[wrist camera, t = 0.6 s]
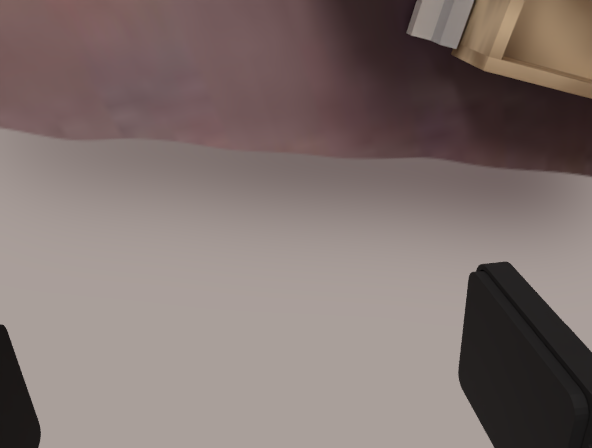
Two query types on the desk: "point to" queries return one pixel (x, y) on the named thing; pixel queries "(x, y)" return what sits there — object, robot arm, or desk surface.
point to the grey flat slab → (440, 20)
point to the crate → (532, 42)
